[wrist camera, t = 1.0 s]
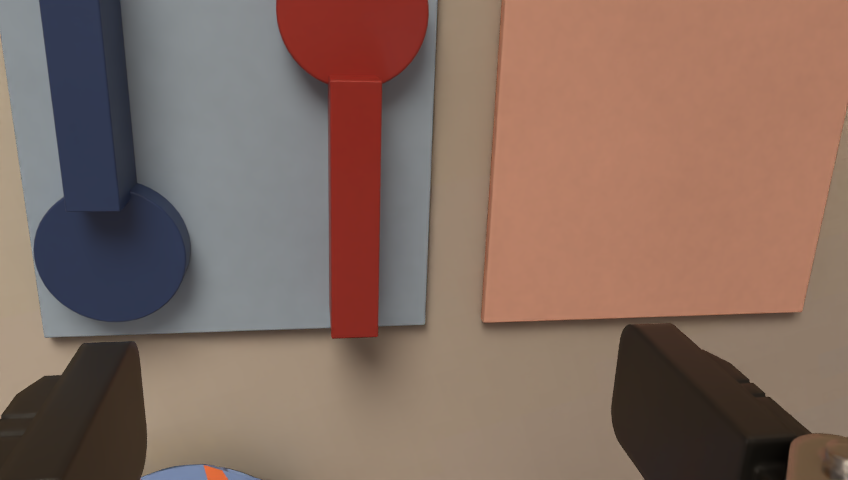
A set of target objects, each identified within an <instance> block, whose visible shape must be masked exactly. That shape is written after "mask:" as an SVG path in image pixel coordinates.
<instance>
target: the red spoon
mask: <svg viewBox="0 0 848 480" xmlns="http://www.w3.org/2000/svg"><path fill="white" fill-rule="evenodd" d="M276 16H277V23H278V28H279V32H280V34H281V37H282V40H283V42H284V44H285V46H286V48H287V50H288V52H289V53H290V55H291V56H292V58H293V59H294V60H295V61H296V62H297V64H298V65H299V66H300V67H301V68H302V69H304V70H305V71H306V72H307V73H308V74H310V75H311V76H312V77H314V78H315V79H317V80H319V81H321V82H323V83H325V84H328V202H329V312H330V326H331V337H332V338H333V339H334V338H362V337H377V336H378V310H379V249H380V188H381V128H382V84H383V83H385V82H388V81H390V80H391V79H393V78H394V77H396V76H397V75H399V74H400V73H401V72H402V71H403V70H405V69H406V68H407V66H408V65H409V64H410V63H411V62H412V61H413V59H414V58H415V56H416V55H417V53H418V52H419V50H420V48H421V46H422V43H423V41H424V38H425V35H426V31H427V26H428V18H429V4H428V0H276Z"/></svg>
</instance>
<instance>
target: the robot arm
mask: <svg viewBox="0 0 848 480" xmlns="http://www.w3.org/2000/svg"><path fill="white" fill-rule="evenodd" d="M611 415H612V424H613V428H614V432H615V435H616V438H617V440H618V442H619V443H620V445H621V446H622V448H623V449H624V450H625V452H626V453H627V455H628V456H629V458H630V459H631V460H632V462H633V463H634V465H635V466H636V467H637V469H638V470H639V472H640V473H641V475H642V476H643V477H644V479H645V480H848V437H843V436H839V435H833V434H823V433H813V434H812V433H811V432H810V431H808V430H807V429H806V428H805V427H804V426H803V425H801V424H800V423H799V422H798V421H797V420H796V419H794V418H793V417H792V416H791V415H790V414H789V413H787V412H786V411H785V410H784V409H783V408H782V407H780V406H779V405H778V404H777V403H776V402H775V401H774V400H772V399H771V398H770V397H765V393H764V392H763V391H762V390H761V389H760V388H758V387H757V386H756V385H755V384H754V383H750V382H749V379H748V378H747V377H746V376H744V375H743V374H742V373H741V372H740V371H739V370H738V369H736V368H735V367H734V366H733V365H732V364H731V363H729V362H727V361H725V360H723V359H721V358H719V357H717V356H715V355H713V354H711V353H709V352H707V351H705V350H703V349H702V350H701V349H700V348H699V347H698V346H697V345H696V344H695V343H694V342H692V341H691V340H690V339H689V338H688V337H687V336H686V335H685V334H683V333H682V332H681V331H680V330H679V329H678V328H677V327H676V326H674V325H673V324H671V323H660V324H632V325H627V326H626V327H625V328H624V329H623V331H622V334H621V338H620V344H619V351H618V359H617V367H616V374H615V382H614V390H613V397H612V406H611ZM146 449H147V429H146V418H145V408H144V398H143V387H142V377H141V367H140V357H139V351H138V347H137V345H136V343H135V342H134V341H127V342H99V343H83V344H82V345H81V346H80V347H79V349H78V351H77V352H76V354H75V355H74V357H73V358H72V360H71V361H70V363H69V364H68V366H67V367H66V369H65V371H64V372H63V374H62V375H56V376H44V377H42V378H41V379H39V380H38V381H36V382H35V383H33V384H32V385H30V386H29V387H27V388H26V389H24V390H23V391H21V392H20V393H18V394H17V395H16V396H15V397H14V399H13V400H12V401H11V403H10V404H9V406H8V407H7V408H6V410H5V411H4V412H3V414H2V415H1V419H0V480H140V478H141V475H142V472H143V469H144V465H145V459H146Z"/></svg>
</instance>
